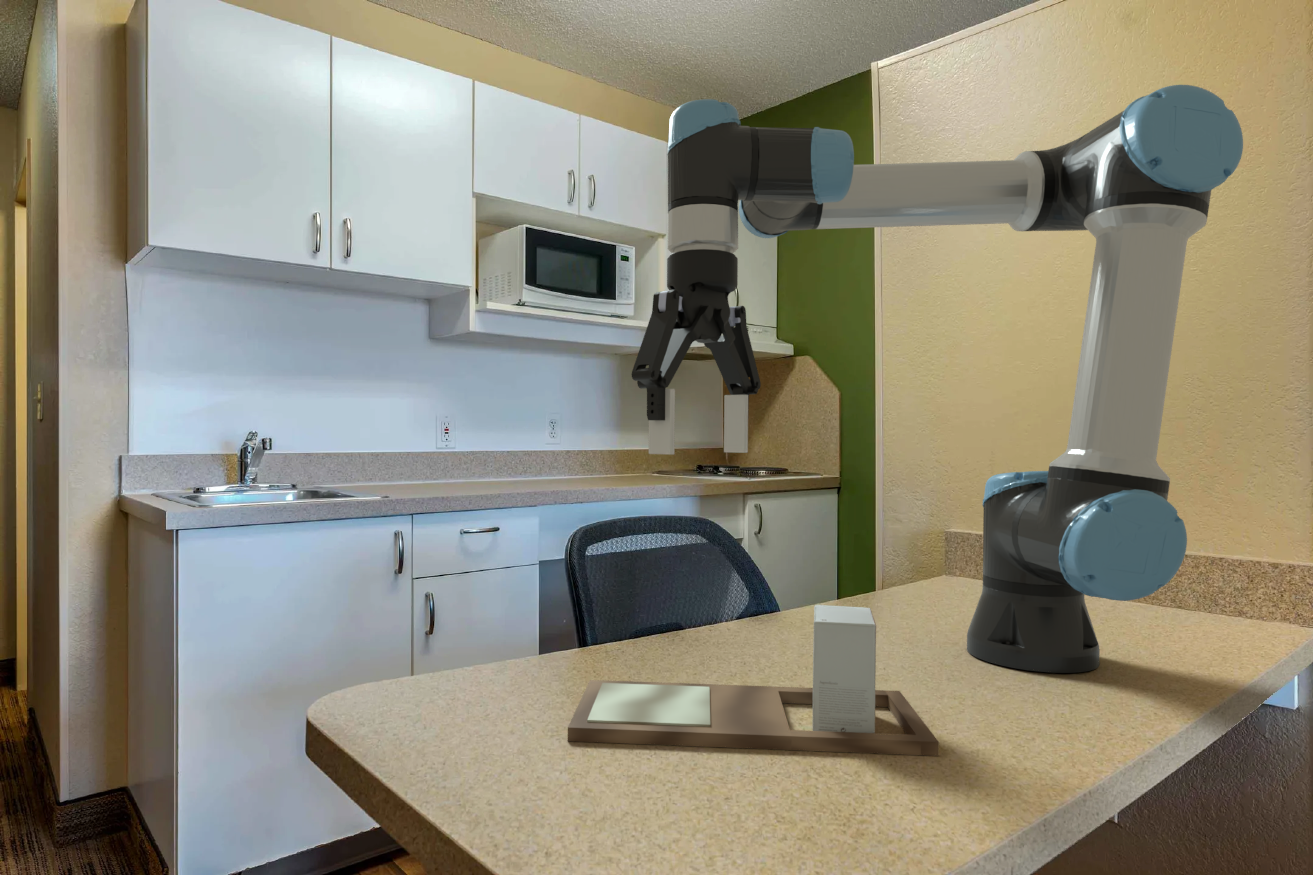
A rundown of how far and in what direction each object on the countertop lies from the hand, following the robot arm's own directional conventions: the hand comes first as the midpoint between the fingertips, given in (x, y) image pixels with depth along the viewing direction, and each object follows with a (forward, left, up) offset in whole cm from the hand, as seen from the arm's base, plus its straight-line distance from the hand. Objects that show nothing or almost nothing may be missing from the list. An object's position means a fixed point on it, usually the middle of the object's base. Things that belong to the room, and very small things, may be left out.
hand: (700, 453), depth 87 cm
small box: (-14, +9, -25) cm, 30 cm away
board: (-5, +9, -25) cm, 27 cm away
